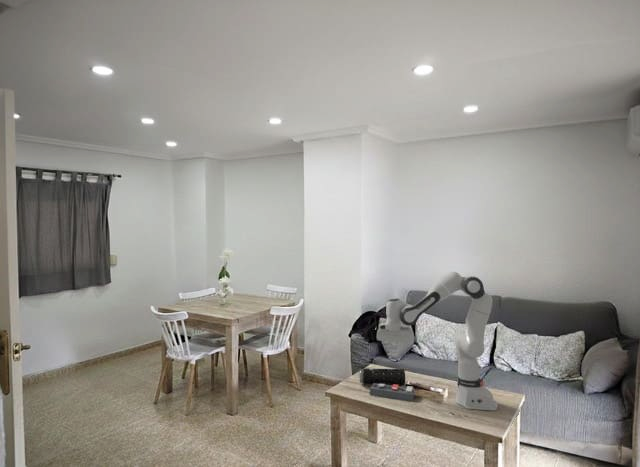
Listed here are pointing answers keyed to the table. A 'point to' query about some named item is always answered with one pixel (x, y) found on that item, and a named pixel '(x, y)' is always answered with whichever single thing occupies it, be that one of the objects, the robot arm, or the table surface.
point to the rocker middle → (395, 387)
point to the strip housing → (392, 392)
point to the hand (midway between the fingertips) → (393, 349)
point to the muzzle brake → (382, 376)
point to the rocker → (409, 389)
